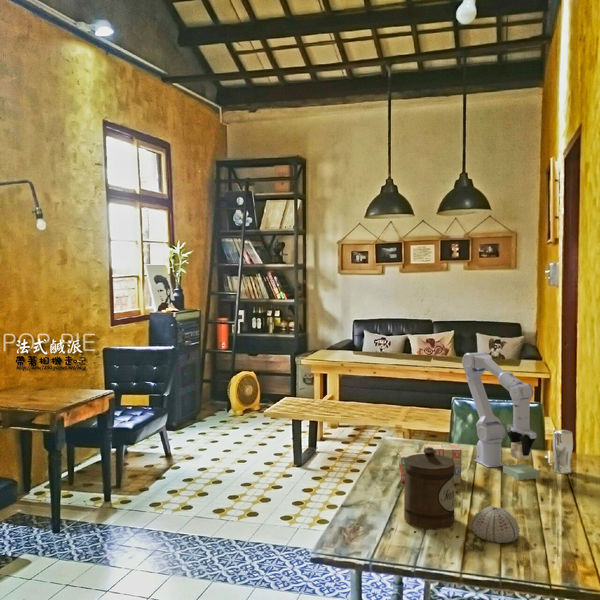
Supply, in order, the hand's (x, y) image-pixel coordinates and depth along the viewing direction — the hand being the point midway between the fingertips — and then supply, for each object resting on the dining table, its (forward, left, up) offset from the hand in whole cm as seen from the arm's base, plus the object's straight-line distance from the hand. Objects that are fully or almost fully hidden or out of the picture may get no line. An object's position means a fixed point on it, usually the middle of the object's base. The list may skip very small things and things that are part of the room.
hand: (521, 453), depth 225 cm
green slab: (0, 0, -9) cm, 9 cm away
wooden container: (+27, -53, -8) cm, 60 cm away
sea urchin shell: (+43, -41, -8) cm, 60 cm away
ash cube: (0, 0, -2) cm, 2 cm away
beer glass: (+1, +17, -8) cm, 19 cm away
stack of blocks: (-6, -35, -8) cm, 36 cm away
